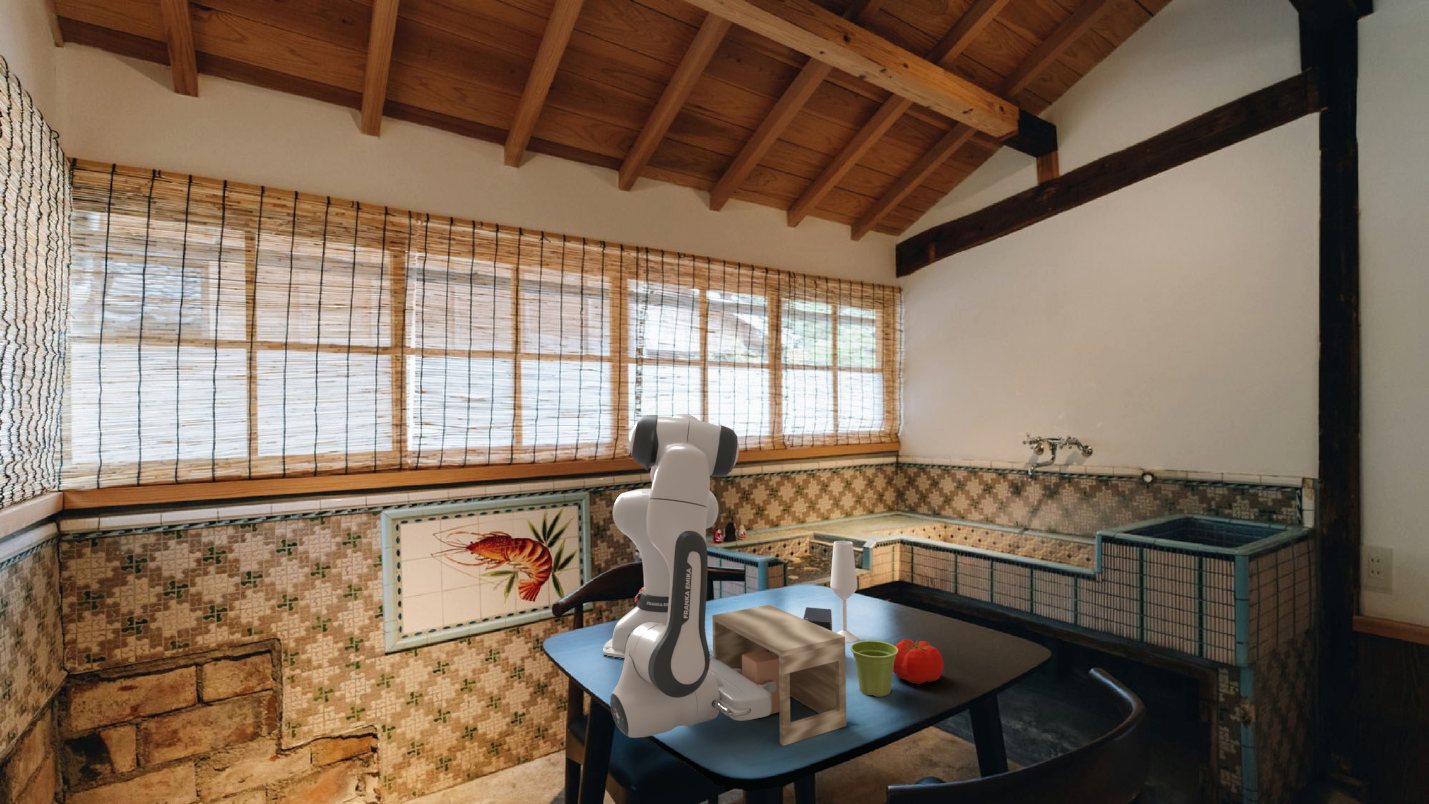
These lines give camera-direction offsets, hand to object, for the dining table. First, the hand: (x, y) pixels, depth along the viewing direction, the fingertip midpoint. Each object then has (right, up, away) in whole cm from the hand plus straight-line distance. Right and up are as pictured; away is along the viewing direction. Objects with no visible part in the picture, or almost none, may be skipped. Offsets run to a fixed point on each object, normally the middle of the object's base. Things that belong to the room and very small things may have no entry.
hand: (764, 679), depth 125 cm
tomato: (+34, -7, +15) cm, 38 cm away
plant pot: (+23, -6, +9) cm, 26 cm away
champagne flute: (+24, -7, +42) cm, 48 cm away
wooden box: (+2, -6, +1) cm, 7 cm away
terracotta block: (-1, -6, -1) cm, 6 cm away
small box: (+15, -7, +27) cm, 32 cm away
